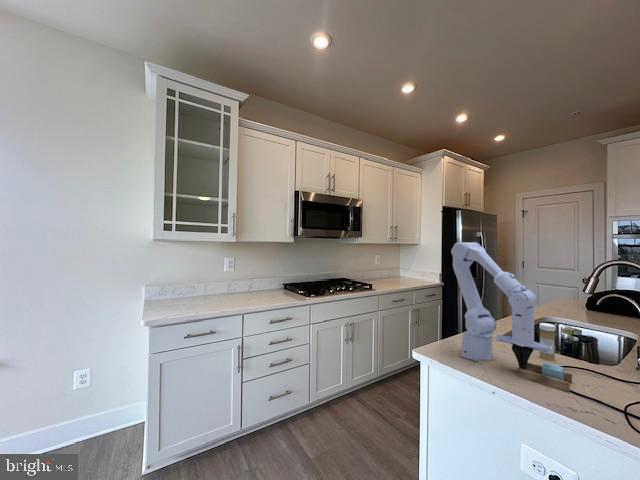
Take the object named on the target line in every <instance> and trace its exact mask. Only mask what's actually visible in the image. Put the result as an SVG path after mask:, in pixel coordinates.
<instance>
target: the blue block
mask: <svg viewBox="0 0 640 480" xmlns="http://www.w3.org/2000/svg"><path fill="white" fill-rule="evenodd" d="M541 366H542V375H545V376H549V377H552V378H556V379H559V380H563V377H564V372H565V370H564V368H565V367H563V366H559V365H556V364H552V363H549V362H544V363H543V365H541Z"/></svg>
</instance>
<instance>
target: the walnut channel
mask: <svg viewBox="0 0 640 480" xmlns="http://www.w3.org/2000/svg"><path fill="white" fill-rule="evenodd" d="M542 366H543V365H540V364H538V363H537V364H536V363H533V362H531V361H530V362H529V361H528V362H527V365H526V369H521V368H519V367H517V377H518V378H520V379H524V380H528V381H530V382H534V383H537V384H540V385H543V386H546V387H549V388H553V389H556V390H559V391H563V392H566V393H568V394H569V393H570V390H571V386H572V383H573V374H572V373H570V372H566V371H564V377H563V380H559V379H556V378H552V377H549V376H545V375H542Z"/></svg>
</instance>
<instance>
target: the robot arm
mask: <svg viewBox="0 0 640 480" xmlns="http://www.w3.org/2000/svg"><path fill="white" fill-rule="evenodd" d="M450 252H451V256H452V269H453V271H454V274H455V276H456V280H457V283H458V286H459V289H460V292H461V295H462V297H463V300H464V303H465V306H466V309H467V310H466V312H465V314H464V320H465V329H466V330H467V331H466V330H465V331H464V332H463V334H462V338H461V355H460V356H461V357H462V358H466V359H469V360H472V361H474V362H479V361H492V359H493V334H494V333H493V332H495V331H496V330H497V322H496V320H495V319H494V318H493V317H492V315H491V313H490V310H488V309H487V308H485V307H484V305H483V302H482V299H481V297H480V294H479V291H478V289H477V285H476V282H475V281H474V278H473V274H472V272H471V269H470V267H471V266H472V264H473V263H474V261H475V262H477V263H478V264H479V265H480V266H481V267H482V268H484V269H485V270H486V271H487V272H488V273H489V274H490V275H491V276H492V277H493V283H494V284H495V285H496V286H497V287H498V288H499V289H500V291H502V292H503V293H504V294H505V295H506V296H507V299H508V303H509V305H510V306H511V313H512V317H511V318H512V320H511V321H512V322H511V325H512V326H511V330H512V331H511V335H510V336H509V335H504V334H499V333H498V334H496V337H495V339H496V342H498V343H501V342H502V343H506V344H509V345H511V350H512V352H513V354H514V356H515V358H516V360H517V364H518V368H521V369H526V365H527V362H529V359H530V357H531V356H532V354H533V352H534V350H535V351H538V352H540V351H542V352H546V353H548V354H552V346H548V345H544V344H541V343H540V342H538V341H535V307H536V306H537V305H538V303H539V298H538V296H537V294H536V293H535V292H534V291H533V290H531V289H527V287H526V286H525V285H523V284H522V283H521V282H519V281H518V280H517V279H516V278H515V277H516V275H515V274H514V273H510V272H509V271H503V270H502V268H501V267H500V266H499V265H498V263H496V262H495V261H494V260H493V258H492V257H491V256H490V255H489V254H488V253H487V252H486V249H485V248H484V247H483V246H481V244H480V243H478V242H477V241H473V242H470V241H469V242H463V241H458V242H456V243H454V244H453V246H452V248H451V251H450Z"/></svg>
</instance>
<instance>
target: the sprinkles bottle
mask: <svg viewBox="0 0 640 480" xmlns="http://www.w3.org/2000/svg"><path fill="white" fill-rule="evenodd" d="M538 324H539V327H538V328H539V343H541V344H544V345H548V346H552V354H548V353H546V352H542V351H539V358H541V359H543V360H546V361H552V362H553V361H556V357H555V356H556V355H555V354H556V345H555V344H556V333H555V332H556V325H554V324H552V323H547V322H541V323H538Z"/></svg>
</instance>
